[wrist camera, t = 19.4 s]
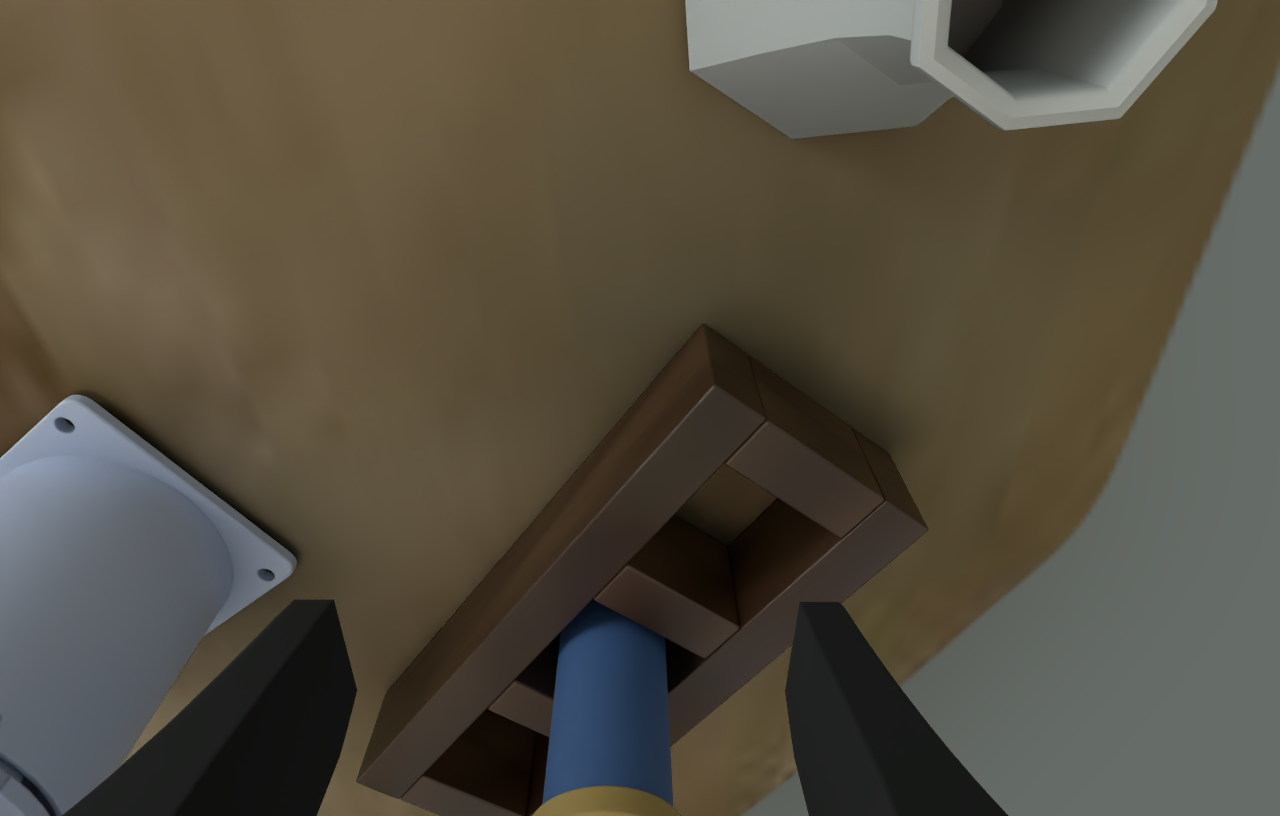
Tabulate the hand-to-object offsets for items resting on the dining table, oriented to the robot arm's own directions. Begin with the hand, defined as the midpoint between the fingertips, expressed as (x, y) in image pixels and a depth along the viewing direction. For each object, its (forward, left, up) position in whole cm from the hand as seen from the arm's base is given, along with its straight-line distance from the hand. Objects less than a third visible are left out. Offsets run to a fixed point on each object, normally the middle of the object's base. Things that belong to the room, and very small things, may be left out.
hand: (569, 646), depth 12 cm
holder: (-5, -7, -10) cm, 14 cm away
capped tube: (-5, -7, -10) cm, 14 cm away
